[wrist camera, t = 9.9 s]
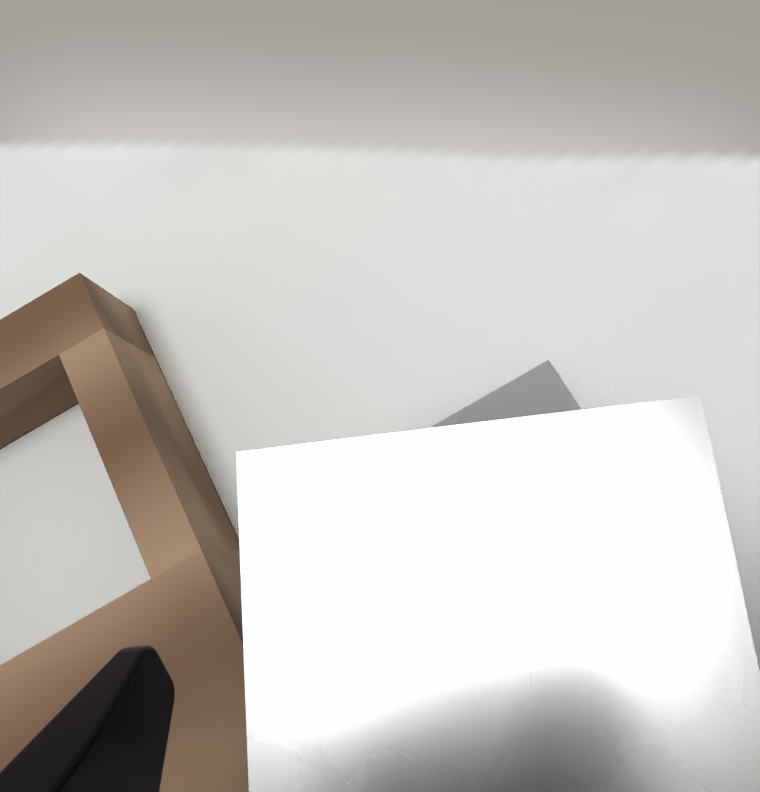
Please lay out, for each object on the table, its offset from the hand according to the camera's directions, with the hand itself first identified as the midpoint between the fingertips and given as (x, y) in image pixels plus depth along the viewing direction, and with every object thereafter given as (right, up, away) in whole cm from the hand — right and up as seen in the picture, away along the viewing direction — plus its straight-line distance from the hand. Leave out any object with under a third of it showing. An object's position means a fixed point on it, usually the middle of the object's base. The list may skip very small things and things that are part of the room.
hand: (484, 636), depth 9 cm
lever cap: (+2, -2, +9) cm, 10 cm away
